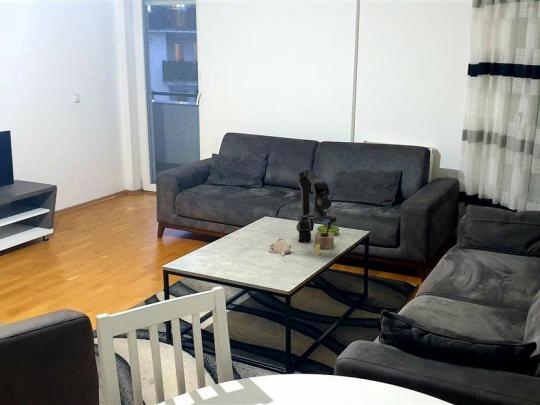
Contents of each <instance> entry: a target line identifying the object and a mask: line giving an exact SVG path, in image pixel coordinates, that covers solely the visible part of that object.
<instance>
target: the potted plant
mask: <svg viewBox="0 0 540 405" xmlns="http://www.w3.org/2000/svg"><path fill="white" fill-rule="evenodd" d="M329 214H335V209H330V212H329V213H328V212H327V216H329ZM328 221H329V219H323V221H322V222H323V223H325V224H323V225H320V226H318V227H317V228H316V229H317V230H316V231H317V232H327V227H328ZM339 231H340V228H339V227H338V226H335V225H331V226H330V228H329V231H328V232H331V233H334V234H335V233H338V232H339Z"/></svg>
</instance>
